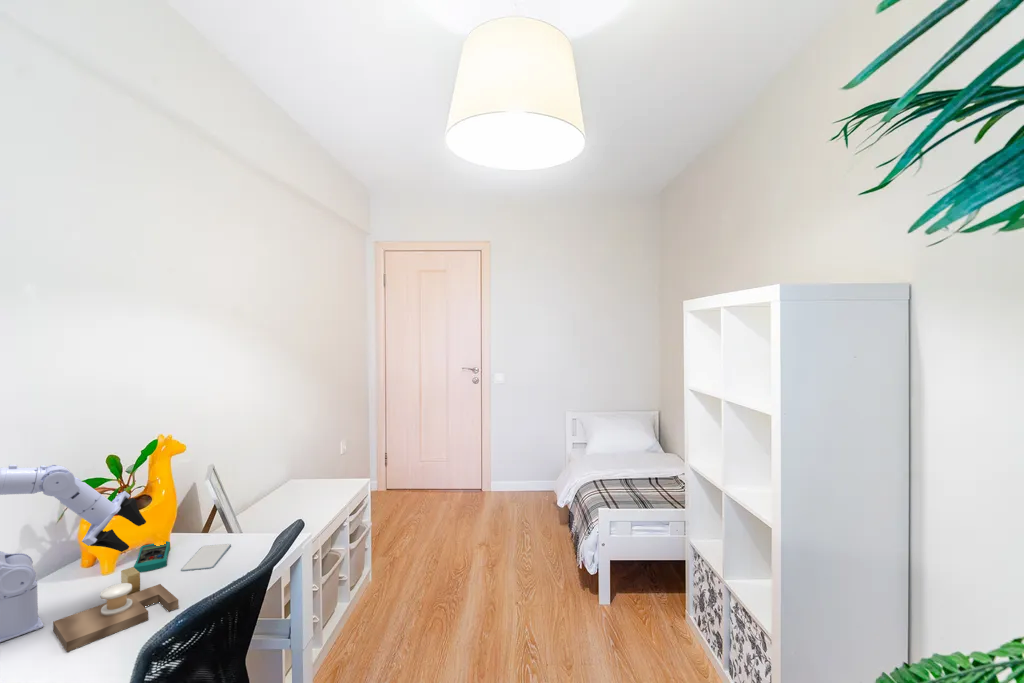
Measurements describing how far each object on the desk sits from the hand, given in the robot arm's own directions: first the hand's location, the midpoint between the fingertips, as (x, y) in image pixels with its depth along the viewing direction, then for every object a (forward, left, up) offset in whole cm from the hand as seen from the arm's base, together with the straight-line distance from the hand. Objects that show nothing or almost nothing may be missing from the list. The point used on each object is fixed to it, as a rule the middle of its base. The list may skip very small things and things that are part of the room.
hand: (134, 536), depth 123 cm
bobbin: (-6, -10, -12) cm, 17 cm away
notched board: (-6, -11, -14) cm, 19 cm away
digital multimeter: (+9, +17, -15) cm, 24 cm away
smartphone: (+19, +6, -15) cm, 25 cm away
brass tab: (-1, -1, -14) cm, 14 cm away
